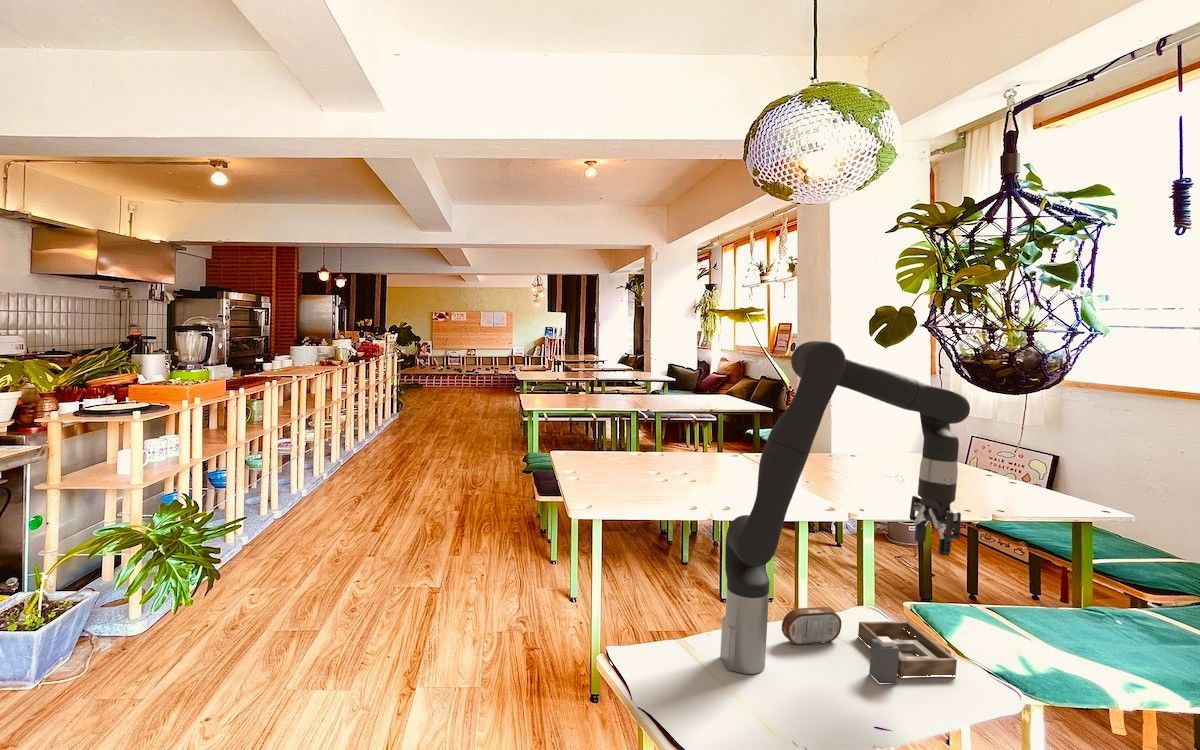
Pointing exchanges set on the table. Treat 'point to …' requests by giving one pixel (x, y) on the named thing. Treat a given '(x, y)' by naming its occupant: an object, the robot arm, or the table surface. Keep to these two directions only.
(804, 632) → the tin
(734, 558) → the robot arm
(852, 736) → the table surface
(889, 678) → the connector
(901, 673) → the box
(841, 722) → the table surface
